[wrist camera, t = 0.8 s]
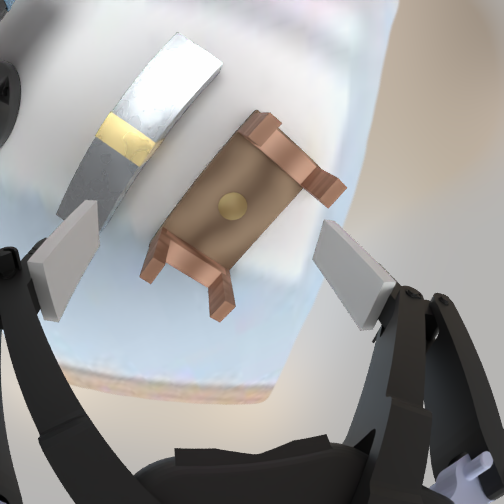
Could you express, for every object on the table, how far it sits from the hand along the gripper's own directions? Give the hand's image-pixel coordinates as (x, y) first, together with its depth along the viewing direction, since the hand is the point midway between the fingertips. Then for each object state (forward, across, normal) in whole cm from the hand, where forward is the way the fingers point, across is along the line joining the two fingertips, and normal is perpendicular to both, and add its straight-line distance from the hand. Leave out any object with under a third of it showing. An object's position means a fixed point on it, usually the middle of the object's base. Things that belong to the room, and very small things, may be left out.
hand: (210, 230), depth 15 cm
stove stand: (+20, +4, -5) cm, 21 cm away
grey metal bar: (+21, -9, +3) cm, 23 cm away
